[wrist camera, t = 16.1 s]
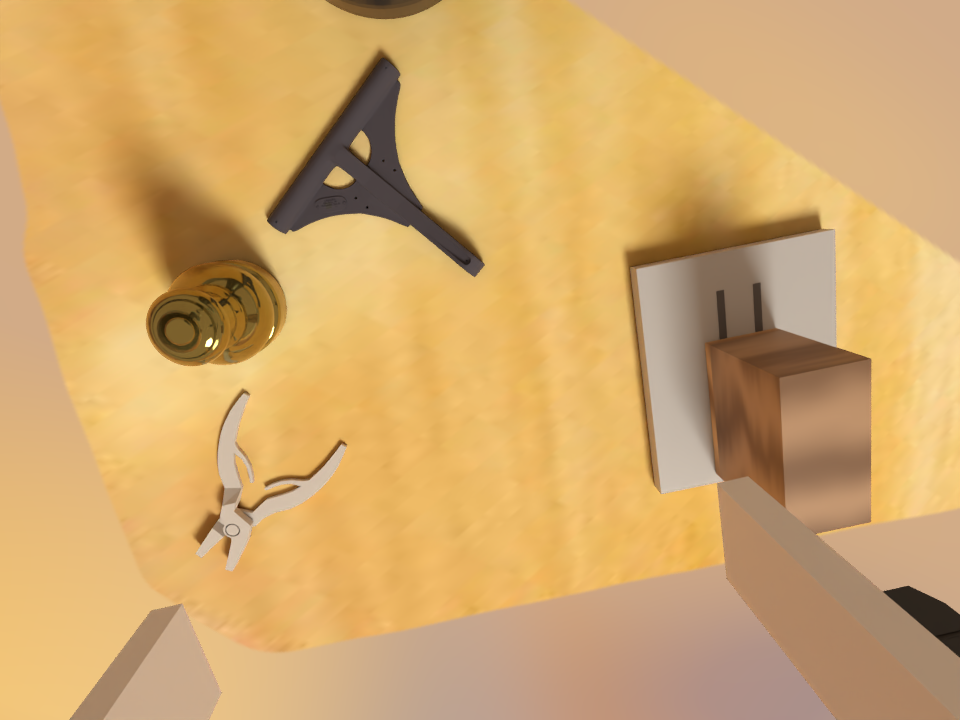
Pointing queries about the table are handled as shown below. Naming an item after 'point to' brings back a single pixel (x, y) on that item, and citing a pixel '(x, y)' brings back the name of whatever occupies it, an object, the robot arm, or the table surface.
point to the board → (719, 333)
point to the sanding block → (794, 423)
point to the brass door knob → (217, 314)
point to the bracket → (365, 172)
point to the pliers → (241, 520)
